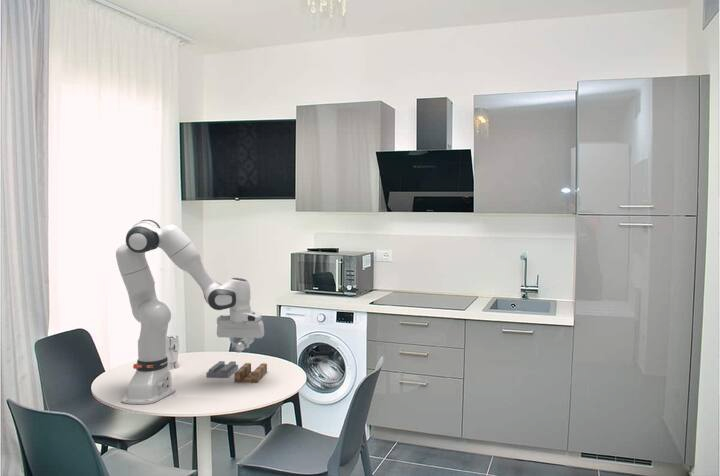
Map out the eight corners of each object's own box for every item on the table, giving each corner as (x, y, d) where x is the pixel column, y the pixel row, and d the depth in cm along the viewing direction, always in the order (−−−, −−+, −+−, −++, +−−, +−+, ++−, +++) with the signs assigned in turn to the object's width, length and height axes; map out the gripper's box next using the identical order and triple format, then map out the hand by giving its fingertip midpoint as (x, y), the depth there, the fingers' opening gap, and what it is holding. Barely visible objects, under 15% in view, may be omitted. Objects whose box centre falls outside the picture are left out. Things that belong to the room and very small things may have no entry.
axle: (242, 352, 238) (242, 343, 237) (233, 352, 238) (233, 342, 238) (254, 343, 254) (254, 334, 253) (245, 342, 254) (245, 334, 254)
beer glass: (174, 364, 277) (173, 334, 276) (182, 367, 272) (181, 336, 272) (161, 368, 271) (160, 337, 271) (169, 370, 267) (168, 339, 266)
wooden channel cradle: (256, 385, 244) (256, 373, 243) (234, 384, 245) (234, 373, 245) (267, 374, 260) (266, 363, 259) (245, 373, 261) (245, 363, 260)
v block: (228, 380, 251) (227, 370, 251) (206, 379, 252) (206, 369, 252) (238, 370, 265) (238, 361, 265) (217, 370, 266) (217, 361, 266)
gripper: (214, 316, 238) (214, 349, 239) (261, 317, 236) (261, 350, 237) (219, 313, 245) (219, 345, 245) (265, 314, 242) (265, 346, 243)
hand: (240, 347), depth 241 cm, fingers closed on axle, 4 cm apart
